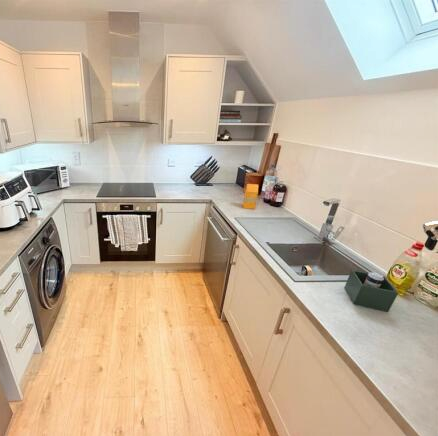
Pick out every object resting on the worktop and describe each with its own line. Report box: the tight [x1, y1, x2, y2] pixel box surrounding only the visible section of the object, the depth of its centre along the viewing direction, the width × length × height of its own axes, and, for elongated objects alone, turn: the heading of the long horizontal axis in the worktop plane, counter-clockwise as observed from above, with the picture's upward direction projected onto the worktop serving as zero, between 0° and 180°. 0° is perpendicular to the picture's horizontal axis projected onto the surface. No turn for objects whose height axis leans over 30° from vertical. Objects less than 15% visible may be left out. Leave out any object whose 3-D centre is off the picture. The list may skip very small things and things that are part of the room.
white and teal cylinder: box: [363, 271, 384, 288], centre depth 96 cm, size 5×5×12 cm
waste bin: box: [343, 269, 399, 313], centre depth 97 cm, size 11×11×10 cm
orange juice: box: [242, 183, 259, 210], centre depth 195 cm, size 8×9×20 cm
